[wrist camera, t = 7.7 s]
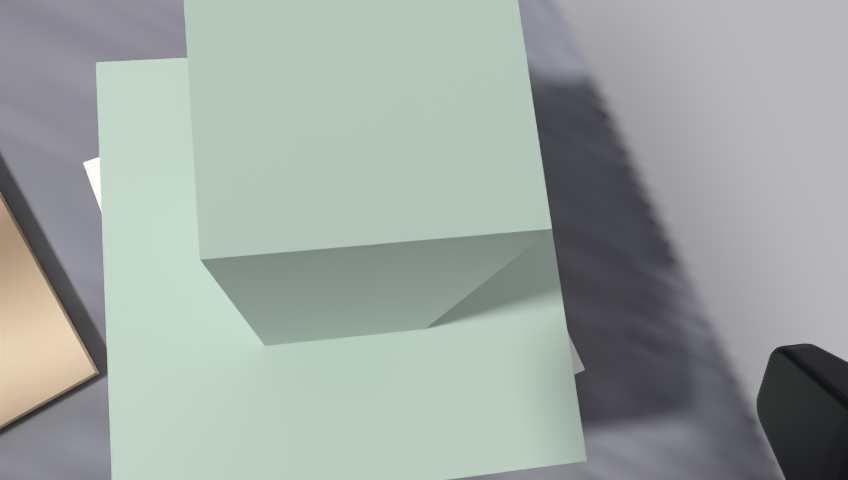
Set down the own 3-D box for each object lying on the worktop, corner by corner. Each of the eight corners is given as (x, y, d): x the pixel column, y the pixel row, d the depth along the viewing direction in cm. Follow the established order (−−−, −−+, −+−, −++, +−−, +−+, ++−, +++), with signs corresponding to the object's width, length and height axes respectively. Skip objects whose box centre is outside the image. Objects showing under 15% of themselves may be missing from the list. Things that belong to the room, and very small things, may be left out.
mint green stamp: (572, 458, 19) (910, 515, 8) (125, 517, 17) (-184, 684, 7) (514, 58, 21) (723, -321, 10) (107, 80, 19) (-154, -338, 9)
